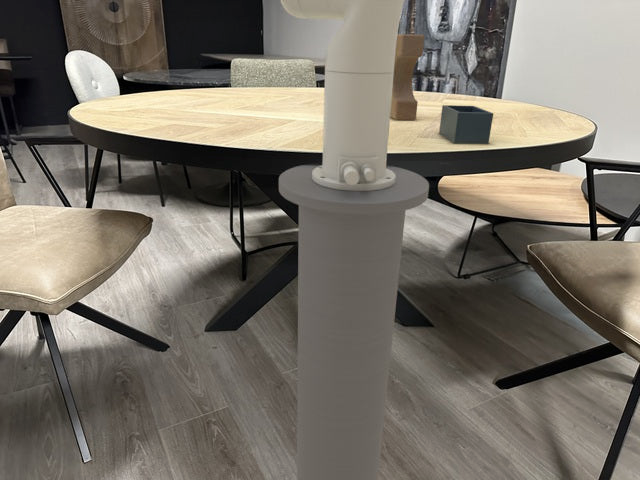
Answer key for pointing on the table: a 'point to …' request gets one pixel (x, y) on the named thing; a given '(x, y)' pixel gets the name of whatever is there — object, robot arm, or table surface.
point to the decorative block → (405, 76)
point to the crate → (465, 124)
